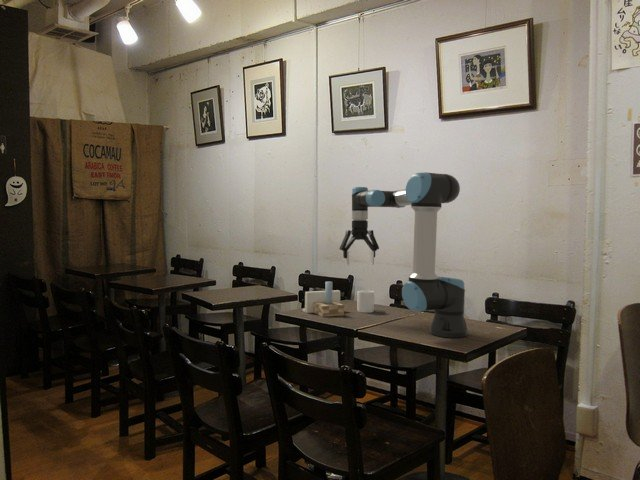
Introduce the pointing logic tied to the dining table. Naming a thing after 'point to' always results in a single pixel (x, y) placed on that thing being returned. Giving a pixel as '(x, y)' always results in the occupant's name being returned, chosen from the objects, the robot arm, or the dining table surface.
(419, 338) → the dining table surface
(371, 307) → the cup
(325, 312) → the block
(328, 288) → the dowel
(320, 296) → the panel
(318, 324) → the dining table surface
